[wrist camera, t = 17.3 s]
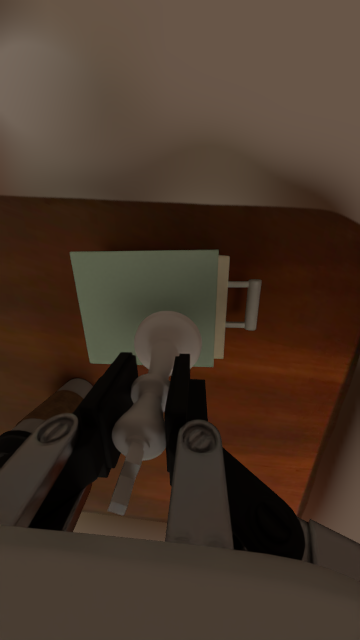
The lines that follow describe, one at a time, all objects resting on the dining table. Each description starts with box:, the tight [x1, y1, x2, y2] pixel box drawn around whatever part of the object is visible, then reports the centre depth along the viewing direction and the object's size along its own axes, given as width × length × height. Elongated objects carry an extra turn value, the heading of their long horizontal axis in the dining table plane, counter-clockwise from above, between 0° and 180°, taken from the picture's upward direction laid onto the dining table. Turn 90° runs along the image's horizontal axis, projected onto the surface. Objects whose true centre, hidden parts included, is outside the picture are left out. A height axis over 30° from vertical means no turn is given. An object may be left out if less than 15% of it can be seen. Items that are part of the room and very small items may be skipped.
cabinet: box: [70, 250, 219, 367], centre depth 25 cm, size 15×13×10 cm
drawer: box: [214, 255, 262, 359], centre depth 25 cm, size 18×11×8 cm, turn 91°
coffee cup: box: [0, 378, 93, 457], centre depth 30 cm, size 8×8×15 cm
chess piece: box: [108, 311, 202, 516], centre depth 10 cm, size 5×5×10 cm
